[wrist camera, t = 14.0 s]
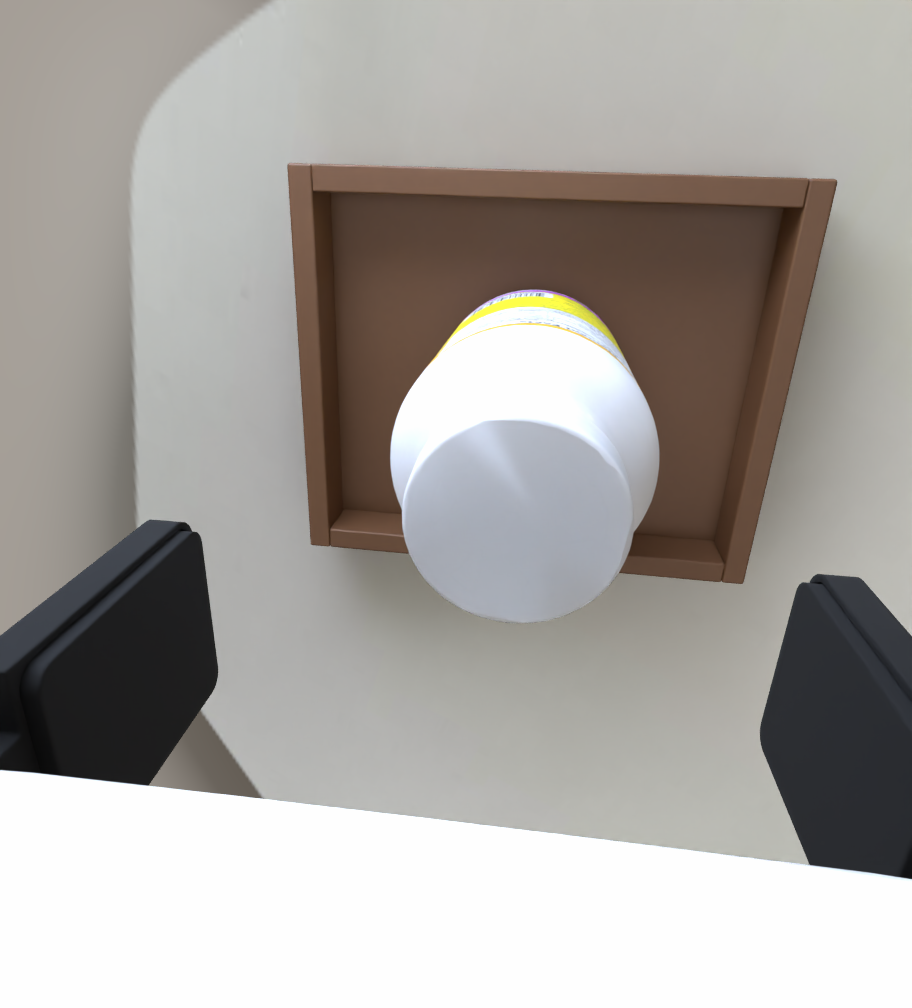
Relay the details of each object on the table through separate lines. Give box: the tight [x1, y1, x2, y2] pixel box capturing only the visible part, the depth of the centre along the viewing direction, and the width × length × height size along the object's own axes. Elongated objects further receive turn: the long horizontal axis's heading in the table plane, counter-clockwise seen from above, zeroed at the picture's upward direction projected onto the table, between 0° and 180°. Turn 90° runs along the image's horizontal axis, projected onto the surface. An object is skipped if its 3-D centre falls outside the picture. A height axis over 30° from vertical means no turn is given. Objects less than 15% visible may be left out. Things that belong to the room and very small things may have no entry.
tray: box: [288, 163, 837, 584], centre depth 25 cm, size 17×14×3 cm
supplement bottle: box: [390, 290, 659, 624], centre depth 19 cm, size 7×7×13 cm
